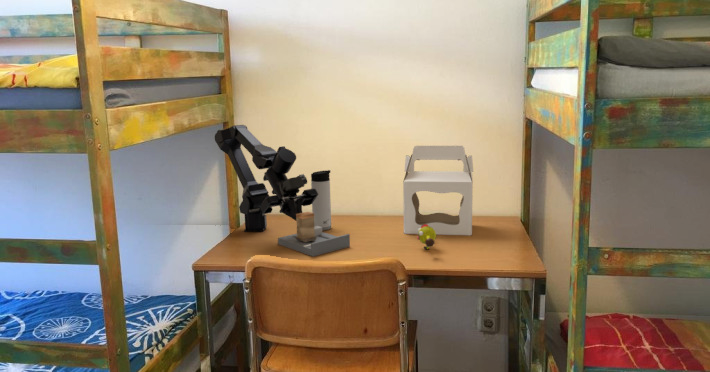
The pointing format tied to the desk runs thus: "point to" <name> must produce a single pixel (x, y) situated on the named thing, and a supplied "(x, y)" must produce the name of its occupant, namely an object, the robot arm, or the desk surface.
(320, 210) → the travel mug
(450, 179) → the gable box
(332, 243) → the console
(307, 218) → the block
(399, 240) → the desk surface
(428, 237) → the toy figure
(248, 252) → the desk surface
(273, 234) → the desk surface
